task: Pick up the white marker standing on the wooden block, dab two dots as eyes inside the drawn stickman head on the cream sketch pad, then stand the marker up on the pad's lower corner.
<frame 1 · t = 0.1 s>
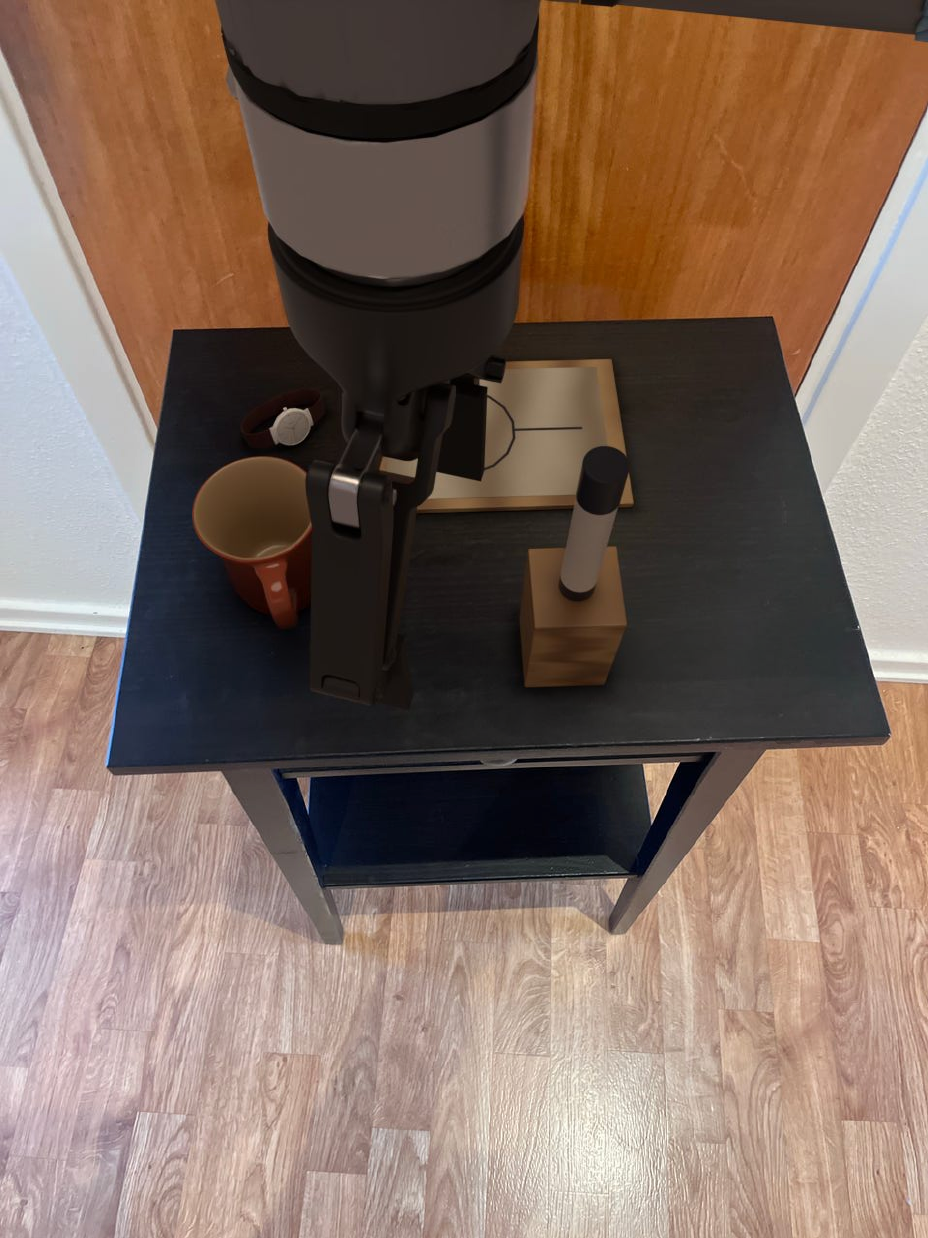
hand: (423, 576, 44), 22 cm above the table, tool pointing down, fingers open, 13 cm apart
wooden block: (560, 650, 66), on the table
watch: (286, 429, 76), on the table
mug: (287, 598, 68), on the table
sketch pad: (495, 435, 75), on the table
marker: (576, 585, 57), point 10 cm above the table, touching wooden block
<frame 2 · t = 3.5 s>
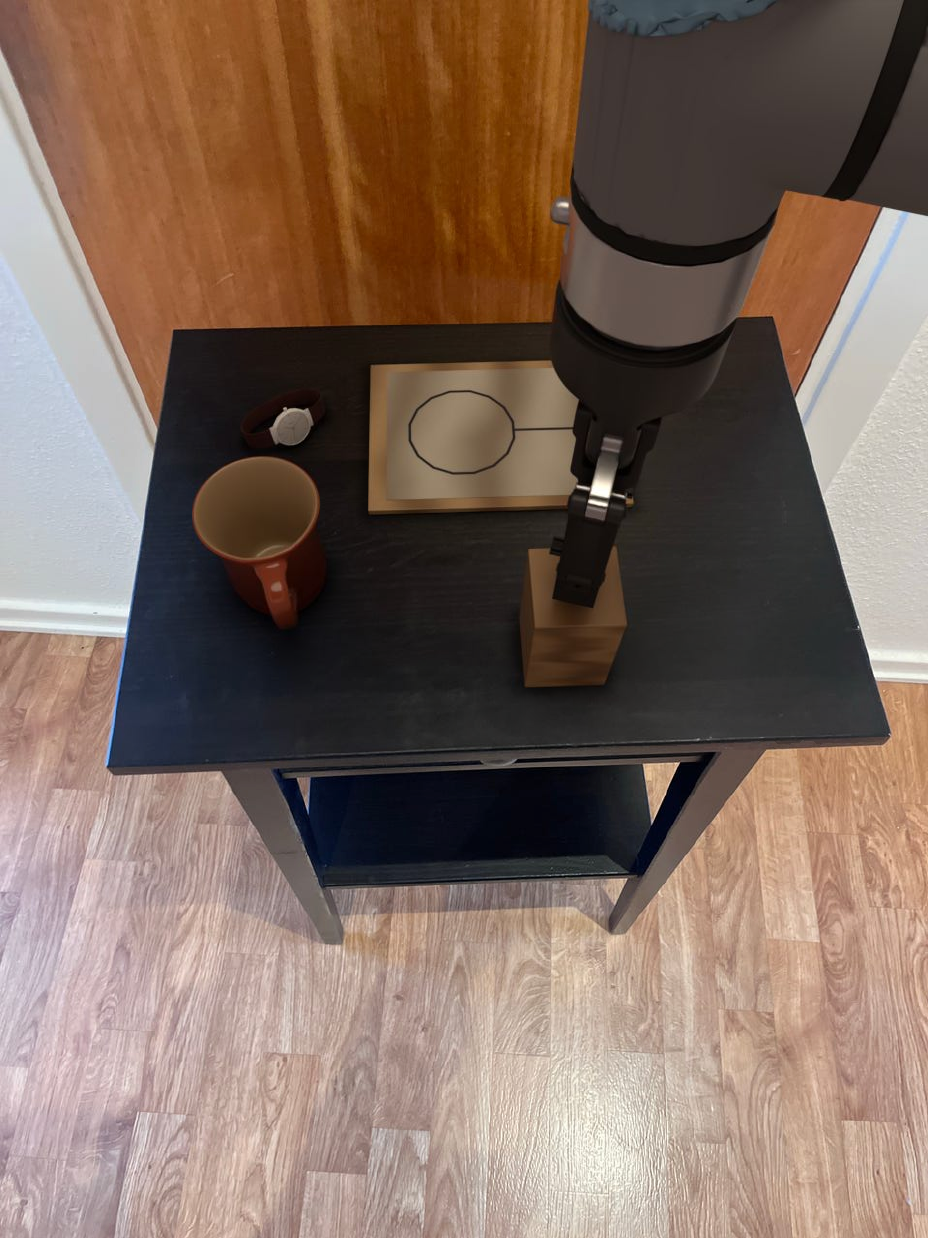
hand: (578, 578, 56), 11 cm above the table, tool pointing down, fingers closed on marker, 2 cm apart
marker: (576, 585, 57), point 10 cm above the table, touching gripper, wooden block
everything else where it was.
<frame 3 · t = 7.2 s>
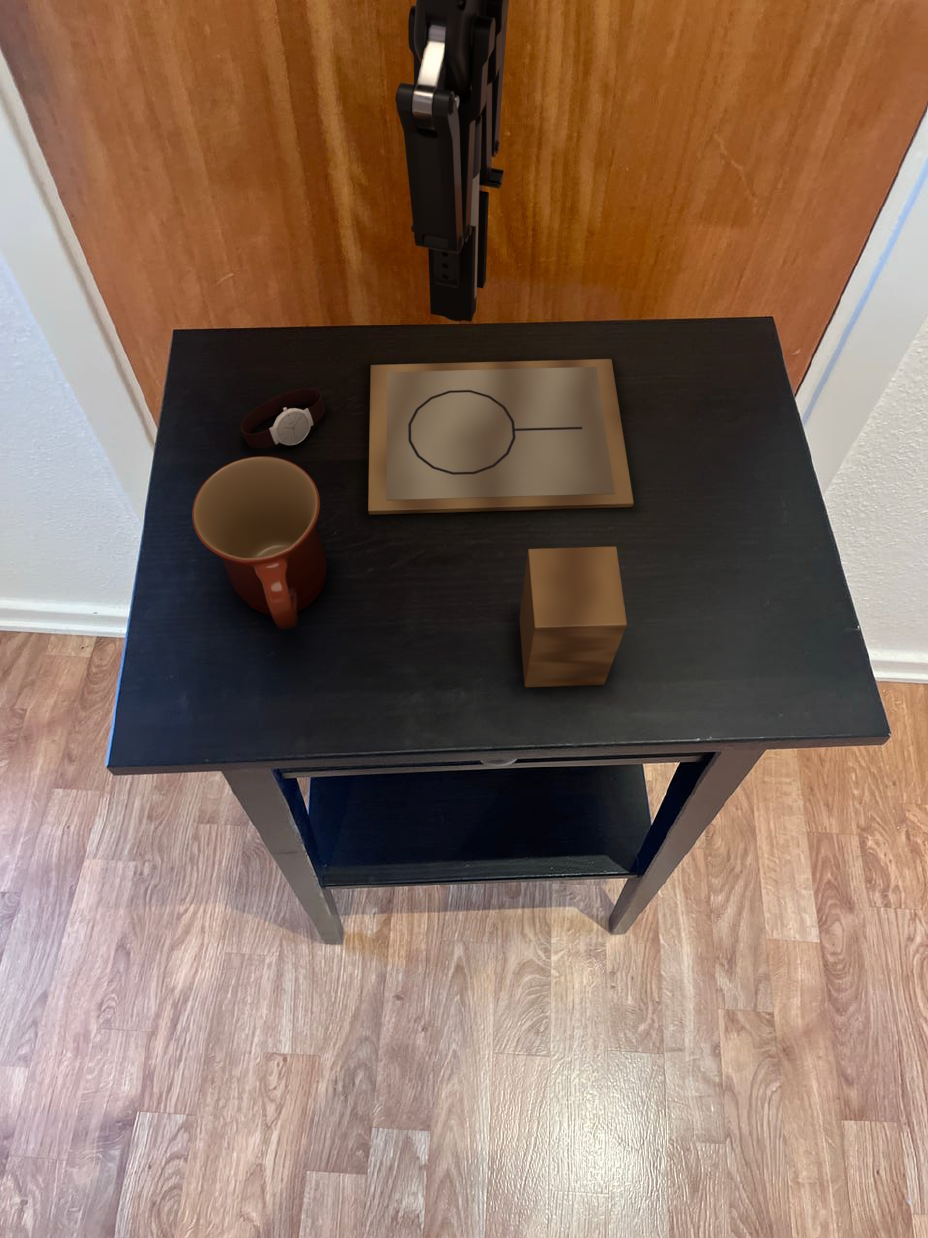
hand: (458, 296, 56), 19 cm above the table, tool pointing down, fingers closed on marker, 2 cm apart
marker: (458, 308, 57), point 18 cm above the table, touching gripper
everything else where it was.
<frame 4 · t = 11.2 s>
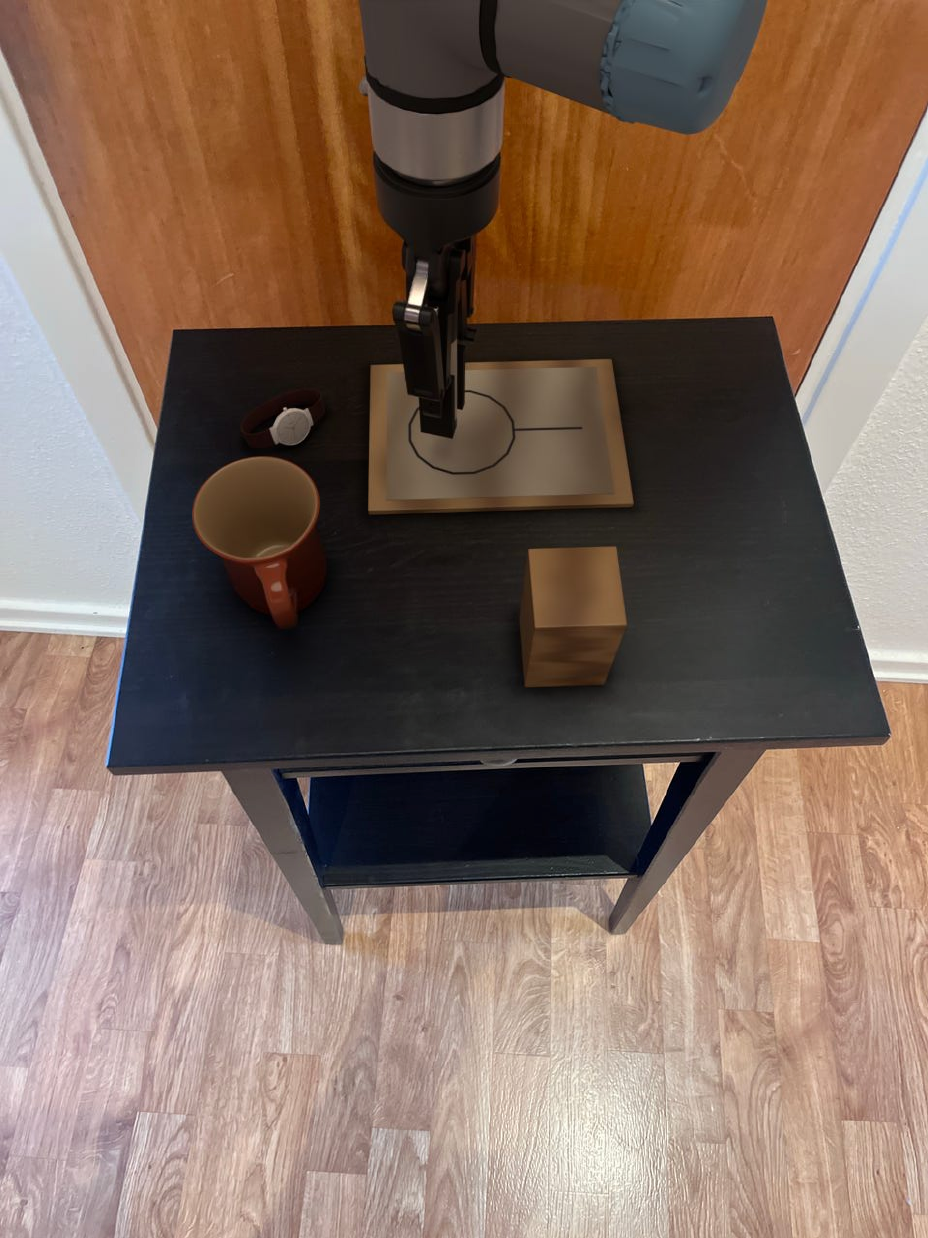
hand: (442, 417, 71), 4 cm above the table, tool pointing down, fingers closed on marker, 2 cm apart
marker: (442, 425, 72), point 3 cm above the table, touching gripper
everything else where it was.
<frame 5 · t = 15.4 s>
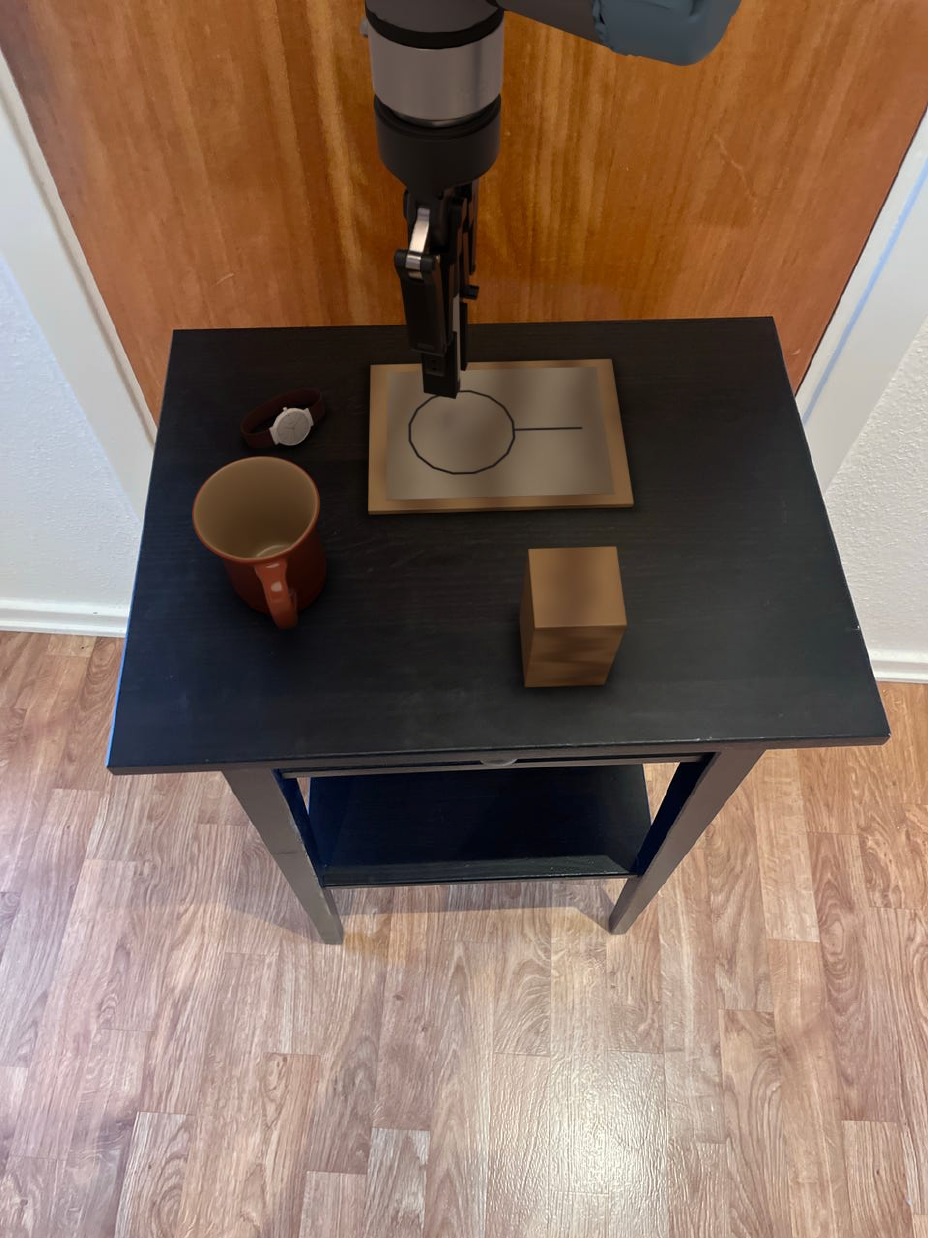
hand: (445, 378, 71), 6 cm above the table, tool pointing down, fingers closed on marker, 2 cm apart
marker: (446, 386, 71), point 5 cm above the table, touching gripper
everything else where it was.
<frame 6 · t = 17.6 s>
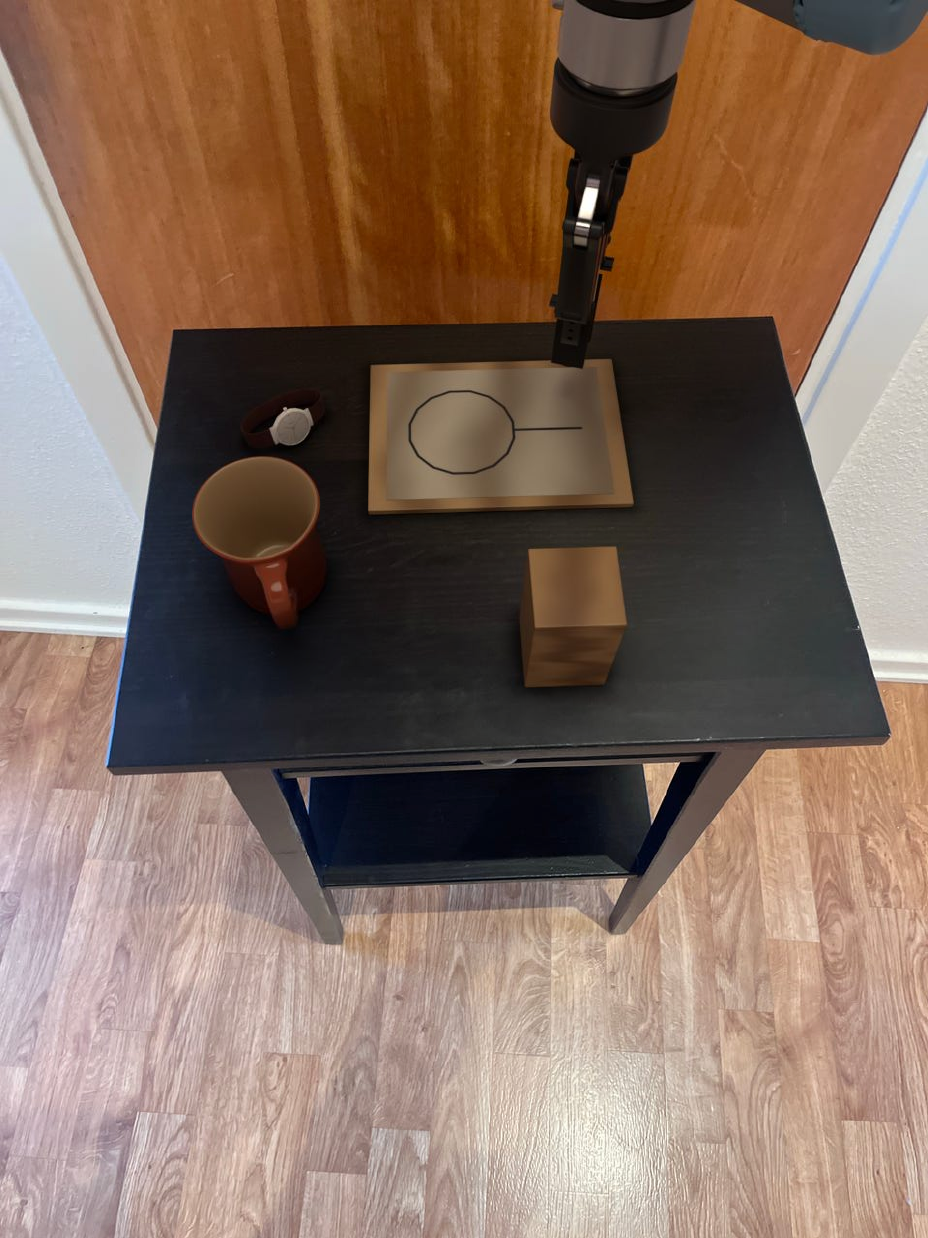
hand: (571, 348, 73), 5 cm above the table, tool pointing down, fingers closed on marker, 2 cm apart
marker: (570, 357, 73), point 4 cm above the table, touching gripper
everything else where it was.
when the fingers open (2 cm above the table, at t = 18.8 s): marker stays where it is, resting on sketch pad.
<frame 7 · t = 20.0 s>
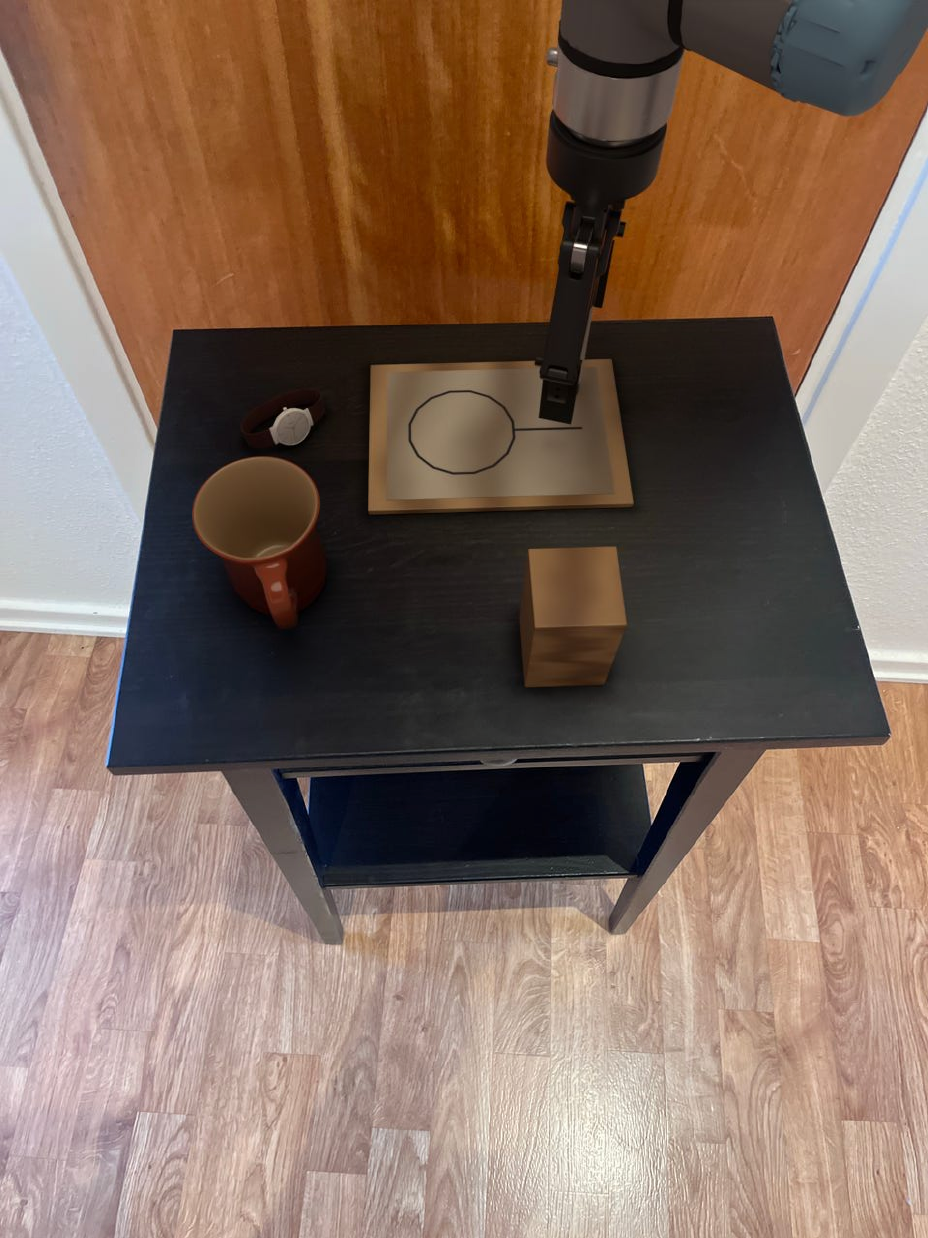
hand: (572, 358, 73), 4 cm above the table, tool pointing down, fingers open, 13 cm apart
marker: (565, 388, 77), point 1 cm above the table, touching sketch pad
everything else where it was.
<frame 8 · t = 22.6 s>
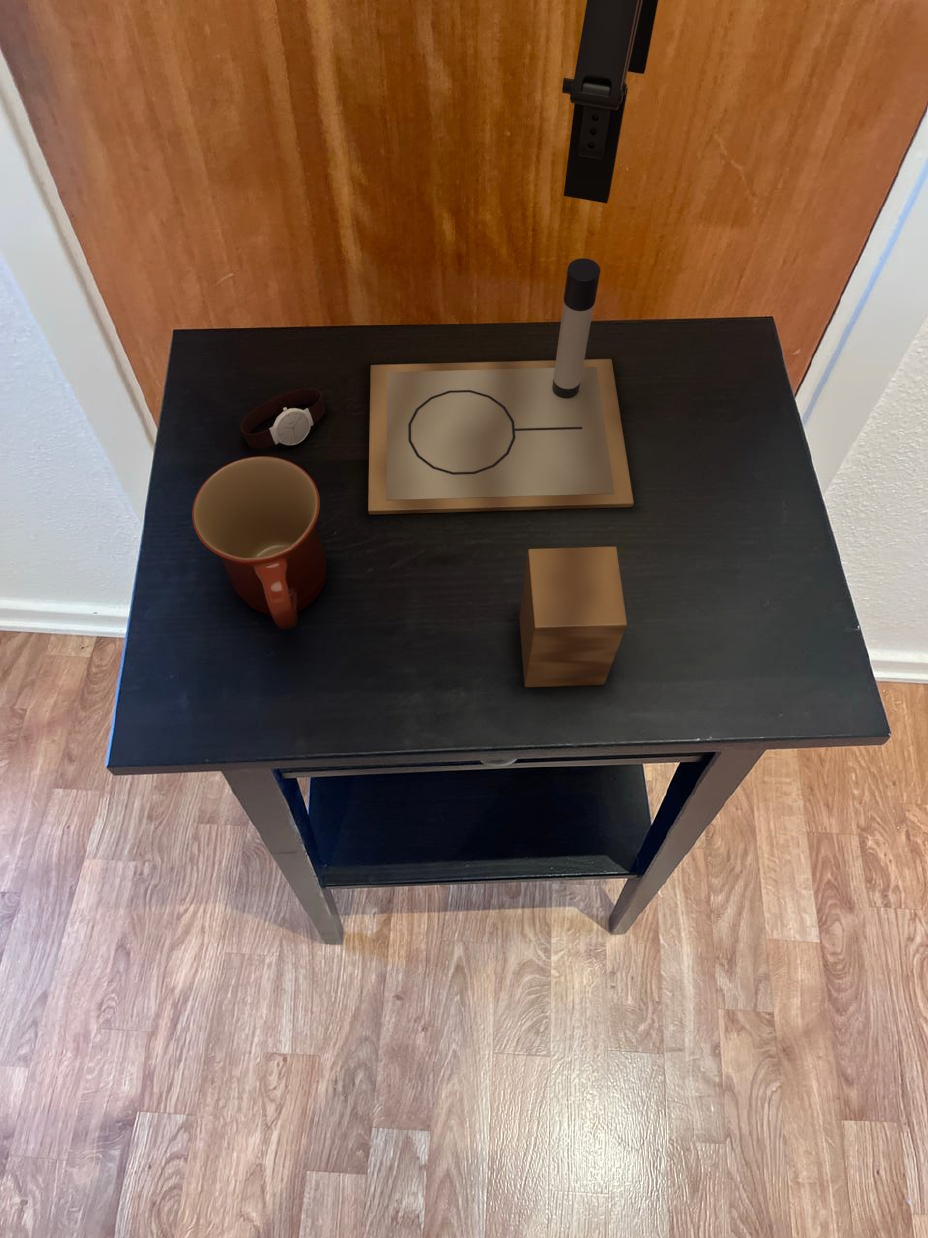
hand: (606, 128, 55), 25 cm above the table, tool pointing down, fingers open, 13 cm apart
nothing on the table moved.
at the end: marker inside the target area on the sketch pad (0.2 cm from its centre), point 0.7 cm above the sketch pad's base; marker tilted 0°; the gripper is holding nothing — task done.
